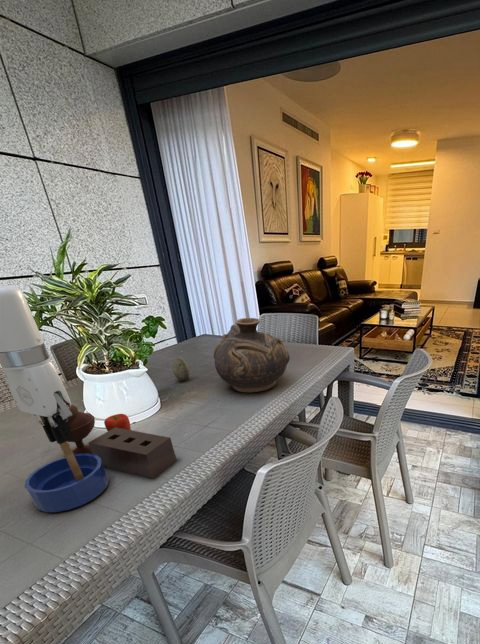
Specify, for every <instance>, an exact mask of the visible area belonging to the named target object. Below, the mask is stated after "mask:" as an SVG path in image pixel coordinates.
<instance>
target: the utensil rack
mask: <svg viewBox="0 0 480 644" xmlns="http://www.w3.org/2000/svg"><path fill="white" fill-rule="evenodd" d="M88 446H90V448H91V450H92V453H91V454H94V455H97V456H98V457H100V458H101V460H102V463H103V465H104V468H106V469H107V468H108V469H112V470H116V471H120V472H124V473H129V474H133V475H136V476H140V477H145V478H149V479H155V478H157V477H158V476H159V475H161V474H162V473H163V472H164V471H166V470H167V469H169V467H171V466H172V465H173V464H174V463H175V462H177V456H176V453H175V449H174V445H173V441H172V439H171V436H170V437H169V436H164V435H158V434H153V433H148V432H143V431H136V430H127V429H121V428H116V427H115V428H113V429H111V430H110V431H106V432H104V433H103V434H101V435H99V436H96V438H94V439H92V440H90V441H88Z"/></svg>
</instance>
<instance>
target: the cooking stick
mask: <svg viewBox="0 0 480 644" xmlns="http://www.w3.org/2000/svg"><path fill="white" fill-rule="evenodd" d="M54 417H56V416H54ZM47 419H48V418H47ZM48 421H49V419H48ZM49 423H50V421H49ZM50 426H51V427H52V425H51V423H50ZM58 445H59V448H60V449H61V451H62V454H63V457H65V458H66V460H67V462H68V464H69V466H70V468H71V471H72V473H73V475H74V477H75V479H76V481H79V480H81V479H83V478H84V476H83V474H82V472H81V469H80V467H79V465H78V463H77V461H76V458H75V456H74V454H73V450H72V447H71V445H70V442H68V441H66V442H64V443H62V444H58Z"/></svg>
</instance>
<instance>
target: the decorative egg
mask: <svg viewBox="0 0 480 644" xmlns="http://www.w3.org/2000/svg"><path fill="white" fill-rule="evenodd" d="M172 366H173V367H172V371H173V375H174V377H175V378H176V379H177V380H178V381H180V382H185V381H187V380H188V379H189V377H190V373H191V372H190V369H189V365H188V364H187V361H186V360H185V359H184V358H183V357H181V356H175V358H174V361H173V365H172Z"/></svg>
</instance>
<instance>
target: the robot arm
mask: <svg viewBox="0 0 480 644" xmlns="http://www.w3.org/2000/svg"><path fill="white" fill-rule="evenodd" d="M0 367H1V369H2V372H3V376H4V378H5V382H6V384H7V387H8V389H9V392H10V394H11V396H12V399H13V402H14V403H15V405H16V408H17V409H18V411H20V412H22V413H25V414H29V415H33V416H35V417H36V419H37V421H38V423H39V424H40V425H41V426H42V428H43V430H44V433H45V435H46V437H47V439H48V441H49V442H50V443H55V442H56V443H57V444H58V445H59V444H62V443H64V442H66V441H68V440H70V439H72V438H73V434H72V432H71V430H70V427H69V425H68V423H67V422H68V419H67V418H69V417H71V416H73V414H72V413H71V411H70V410H69V408H70V407H71V405H72V402H71V398H70V396H69V394H68V392H67V389H66V388H65V385H64V383H63V381H62V379H61V378H60V375H59V374H58V372H57V370H56V368H55V366H54V365H53V363H52V362H51V356H50V354H49V352H48V349H47V347H46V343H45V342H44V339H43V337H42V335H41V332H40V330H39V327H38V325H37V322H36V321H35V318H34V315H33V312H32V311H31V309H30V306H29V303H28V301H27V298H26V296H25V294H24V292H23V291H22V289H20V288H19V287H17V286H16V285H12V284H0ZM57 414H59V415H57ZM55 415H57V416H56V417H54V416H55ZM47 418H48V419H49V421H50V423H51V425H52V427H51V426H50V423H49V421H48V419H47Z"/></svg>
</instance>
